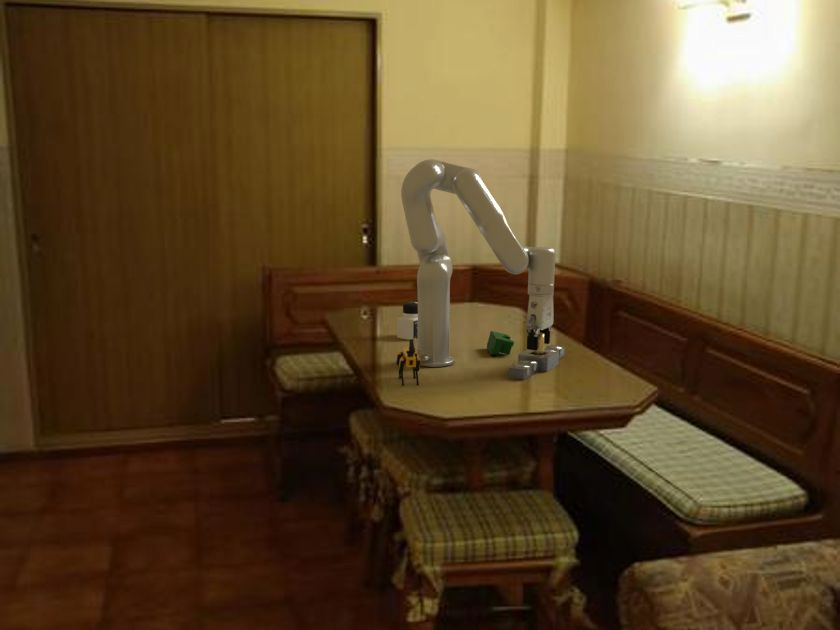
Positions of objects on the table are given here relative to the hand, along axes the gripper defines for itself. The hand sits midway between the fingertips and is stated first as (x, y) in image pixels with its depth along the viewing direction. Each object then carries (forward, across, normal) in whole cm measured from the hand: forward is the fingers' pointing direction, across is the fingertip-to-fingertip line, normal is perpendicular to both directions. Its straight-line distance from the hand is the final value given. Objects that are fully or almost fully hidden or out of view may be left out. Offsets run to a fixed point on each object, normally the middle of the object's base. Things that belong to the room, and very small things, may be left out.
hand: (538, 346), depth 269 cm
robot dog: (+7, -36, +24) cm, 43 cm away
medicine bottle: (+7, +14, +51) cm, 53 cm away
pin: (+6, 0, 0) cm, 6 cm away
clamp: (+6, +10, +17) cm, 21 cm away
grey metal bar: (+6, 0, 0) cm, 6 cm away
